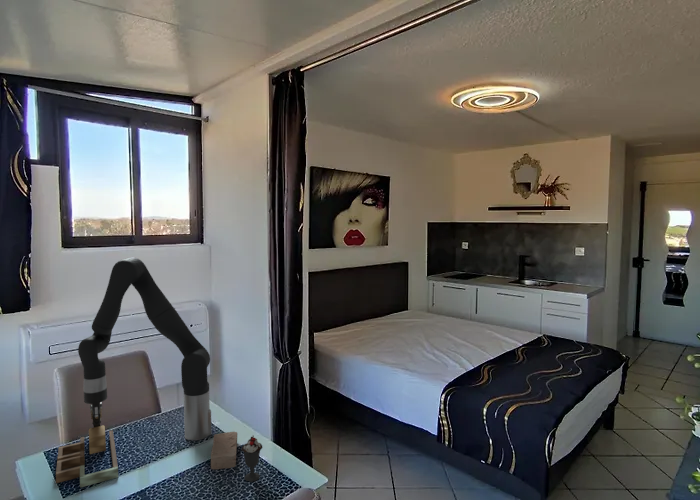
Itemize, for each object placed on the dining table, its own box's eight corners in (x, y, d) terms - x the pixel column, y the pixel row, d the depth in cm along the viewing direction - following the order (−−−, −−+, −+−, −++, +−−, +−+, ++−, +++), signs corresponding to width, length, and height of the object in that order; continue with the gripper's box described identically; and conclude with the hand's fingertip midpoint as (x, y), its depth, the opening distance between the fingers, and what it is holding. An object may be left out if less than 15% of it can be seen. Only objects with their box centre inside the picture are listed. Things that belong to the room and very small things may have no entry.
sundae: (252, 486, 134) (251, 440, 132) (237, 479, 137) (236, 434, 136) (267, 475, 139) (266, 431, 138) (252, 469, 143) (251, 425, 142)
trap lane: (113, 437, 162) (112, 430, 162) (118, 477, 138) (118, 468, 137) (59, 450, 153) (59, 442, 153) (55, 494, 129) (54, 485, 129)
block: (104, 440, 160) (104, 425, 160) (105, 450, 153) (105, 434, 153) (89, 444, 157) (88, 428, 157) (89, 454, 151) (88, 438, 150)
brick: (236, 467, 144) (236, 454, 144) (210, 471, 142) (209, 457, 142) (237, 442, 160) (237, 430, 160) (214, 445, 158) (214, 433, 158)
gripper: (107, 392, 157) (109, 437, 158) (106, 380, 168) (107, 422, 170) (83, 396, 153) (85, 443, 154) (83, 384, 164) (85, 427, 166)
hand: (97, 432), depth 162 cm, fingers closed
